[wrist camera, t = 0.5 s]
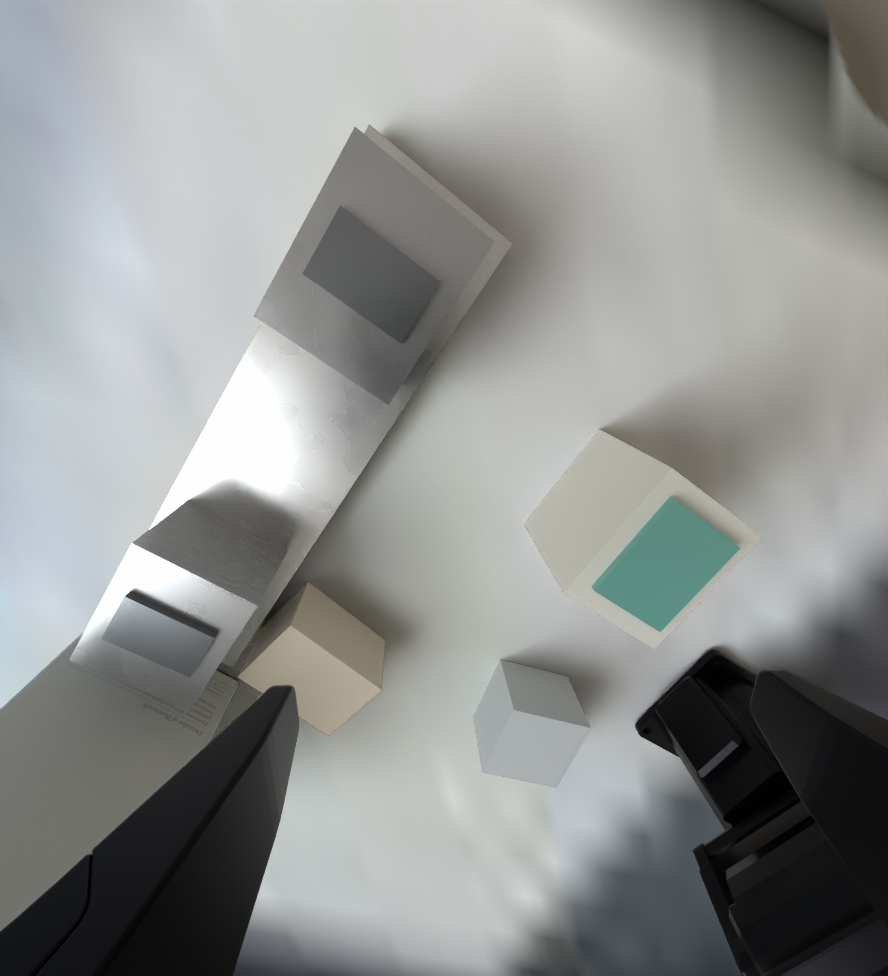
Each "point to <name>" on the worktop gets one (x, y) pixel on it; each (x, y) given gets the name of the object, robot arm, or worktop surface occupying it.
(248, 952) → the worktop surface
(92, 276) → the worktop surface
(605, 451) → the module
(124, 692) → the supplement box
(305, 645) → the beige block
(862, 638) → the worktop surface
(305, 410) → the rail
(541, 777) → the block
